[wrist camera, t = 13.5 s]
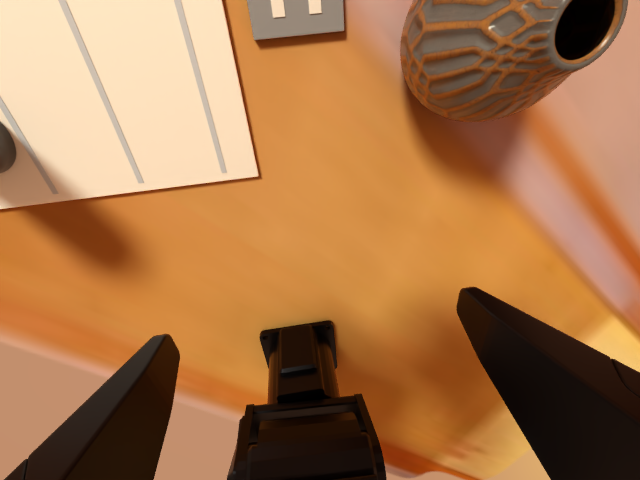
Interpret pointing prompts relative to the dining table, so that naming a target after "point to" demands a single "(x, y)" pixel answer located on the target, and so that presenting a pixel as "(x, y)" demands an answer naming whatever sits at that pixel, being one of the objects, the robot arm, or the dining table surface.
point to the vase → (500, 51)
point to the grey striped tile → (295, 17)
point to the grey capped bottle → (6, 149)
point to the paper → (118, 98)
